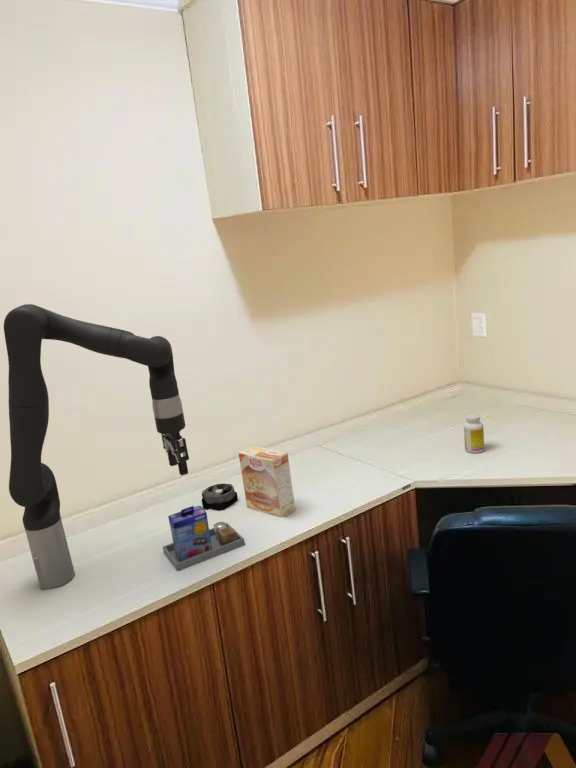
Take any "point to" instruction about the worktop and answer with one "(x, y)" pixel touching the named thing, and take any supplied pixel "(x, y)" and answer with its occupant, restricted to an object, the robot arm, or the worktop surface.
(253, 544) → the worktop surface
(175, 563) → the parts tray
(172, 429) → the robot arm
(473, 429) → the supplement bottle
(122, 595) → the worktop surface
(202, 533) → the ink cartridge box
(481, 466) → the worktop surface
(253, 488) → the coffeecake box
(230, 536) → the walnut block part
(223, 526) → the metal ball part
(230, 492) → the cpu cooler
